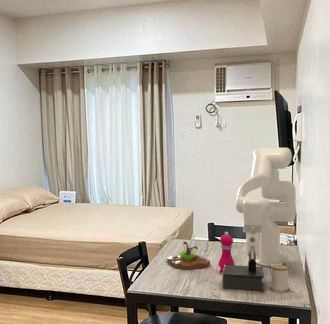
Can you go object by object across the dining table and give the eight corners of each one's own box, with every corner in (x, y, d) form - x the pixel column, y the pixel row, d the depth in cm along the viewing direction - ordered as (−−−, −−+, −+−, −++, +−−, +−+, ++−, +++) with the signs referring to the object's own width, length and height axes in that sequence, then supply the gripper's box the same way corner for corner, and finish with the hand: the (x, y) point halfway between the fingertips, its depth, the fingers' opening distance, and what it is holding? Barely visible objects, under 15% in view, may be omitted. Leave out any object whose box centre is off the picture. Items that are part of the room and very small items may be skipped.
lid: (263, 268, 212) (263, 266, 212) (264, 278, 199) (264, 276, 198) (224, 266, 218) (224, 264, 218) (222, 275, 204) (222, 273, 204)
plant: (193, 257, 259) (193, 236, 258) (215, 266, 241) (215, 244, 240) (160, 261, 252) (160, 240, 251) (181, 271, 233) (181, 248, 233)
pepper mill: (232, 276, 224) (232, 233, 223) (216, 274, 228) (216, 232, 226) (236, 272, 230) (236, 231, 229) (221, 270, 234) (221, 229, 233)
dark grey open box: (261, 283, 213) (261, 269, 213) (261, 293, 199) (262, 278, 199) (224, 280, 218) (224, 266, 218) (222, 290, 204) (222, 275, 204)
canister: (281, 286, 208) (282, 264, 207) (291, 291, 201) (291, 268, 200) (267, 288, 206) (268, 265, 206) (277, 293, 200) (277, 269, 199)
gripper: (262, 232, 197) (262, 276, 199) (261, 225, 212) (261, 266, 213) (243, 231, 200) (242, 274, 201) (243, 224, 214) (243, 265, 215)
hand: (252, 270), depth 207 cm, fingers closed
